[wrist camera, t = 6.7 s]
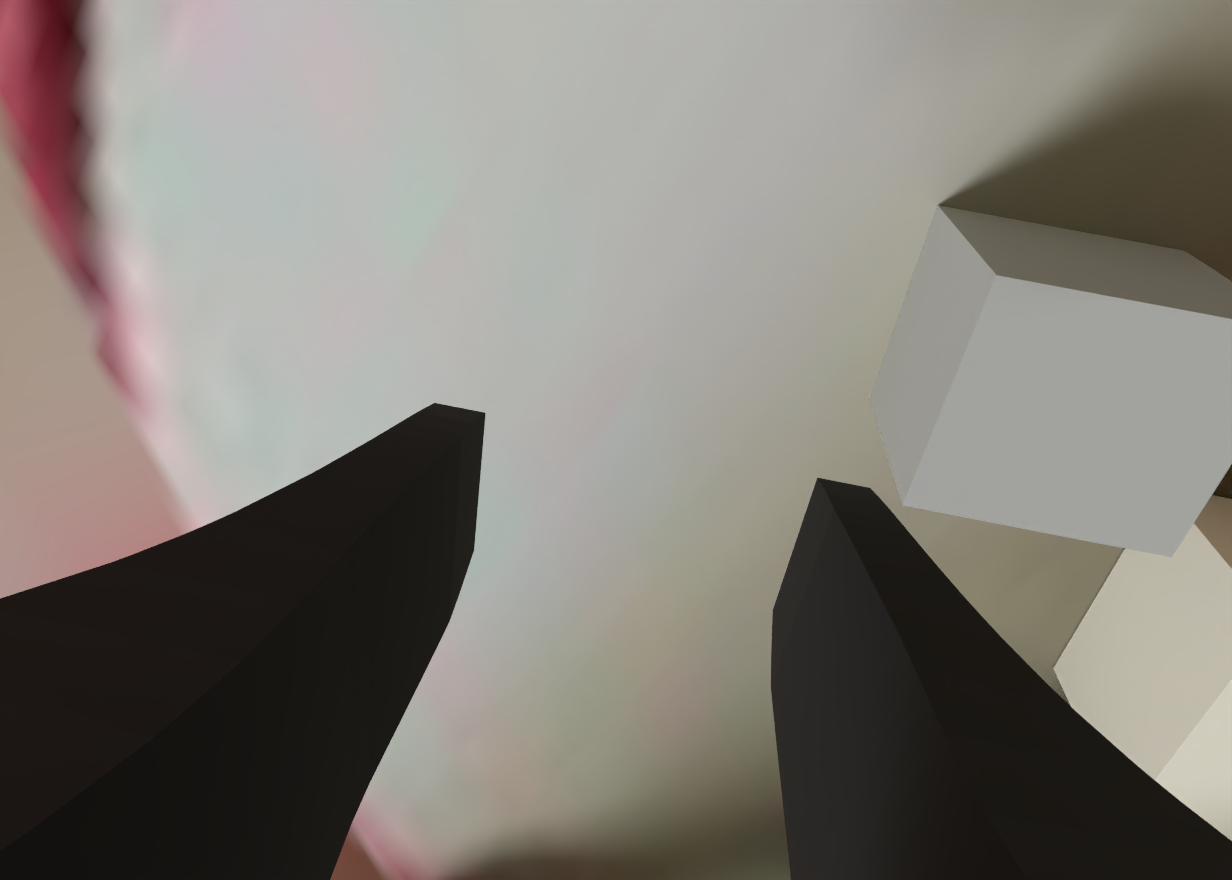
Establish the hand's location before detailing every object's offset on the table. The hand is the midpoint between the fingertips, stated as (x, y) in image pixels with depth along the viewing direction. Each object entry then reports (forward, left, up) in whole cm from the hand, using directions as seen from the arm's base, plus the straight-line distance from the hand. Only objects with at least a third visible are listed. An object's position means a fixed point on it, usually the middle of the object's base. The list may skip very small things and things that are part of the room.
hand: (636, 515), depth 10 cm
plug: (0, -7, -10) cm, 12 cm away
